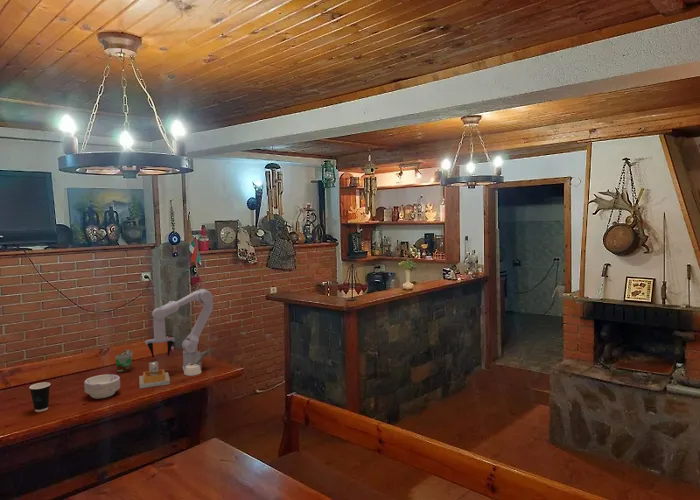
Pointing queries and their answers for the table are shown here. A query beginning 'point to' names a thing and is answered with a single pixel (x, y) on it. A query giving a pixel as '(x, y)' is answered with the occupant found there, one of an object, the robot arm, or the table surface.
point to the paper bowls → (102, 385)
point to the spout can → (153, 368)
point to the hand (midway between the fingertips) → (160, 356)
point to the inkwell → (195, 365)
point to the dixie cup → (40, 396)
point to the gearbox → (154, 379)
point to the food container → (124, 361)
